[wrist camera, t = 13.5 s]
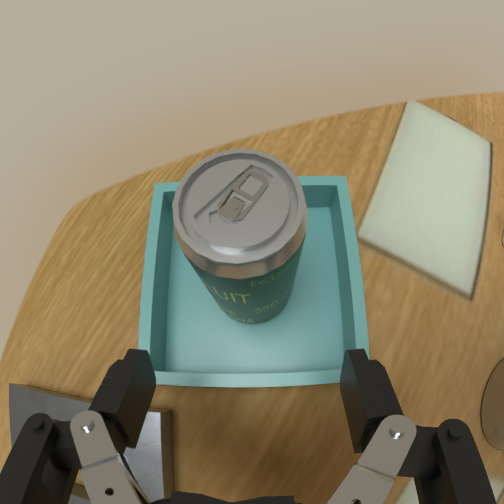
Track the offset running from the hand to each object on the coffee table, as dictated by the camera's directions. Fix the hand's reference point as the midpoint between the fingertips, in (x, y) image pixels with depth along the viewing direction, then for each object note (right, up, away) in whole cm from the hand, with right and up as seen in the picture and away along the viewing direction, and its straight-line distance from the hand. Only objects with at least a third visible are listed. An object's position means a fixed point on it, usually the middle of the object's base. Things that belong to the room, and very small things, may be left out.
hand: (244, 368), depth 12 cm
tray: (0, +2, +11) cm, 11 cm away
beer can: (0, +2, +11) cm, 11 cm away
